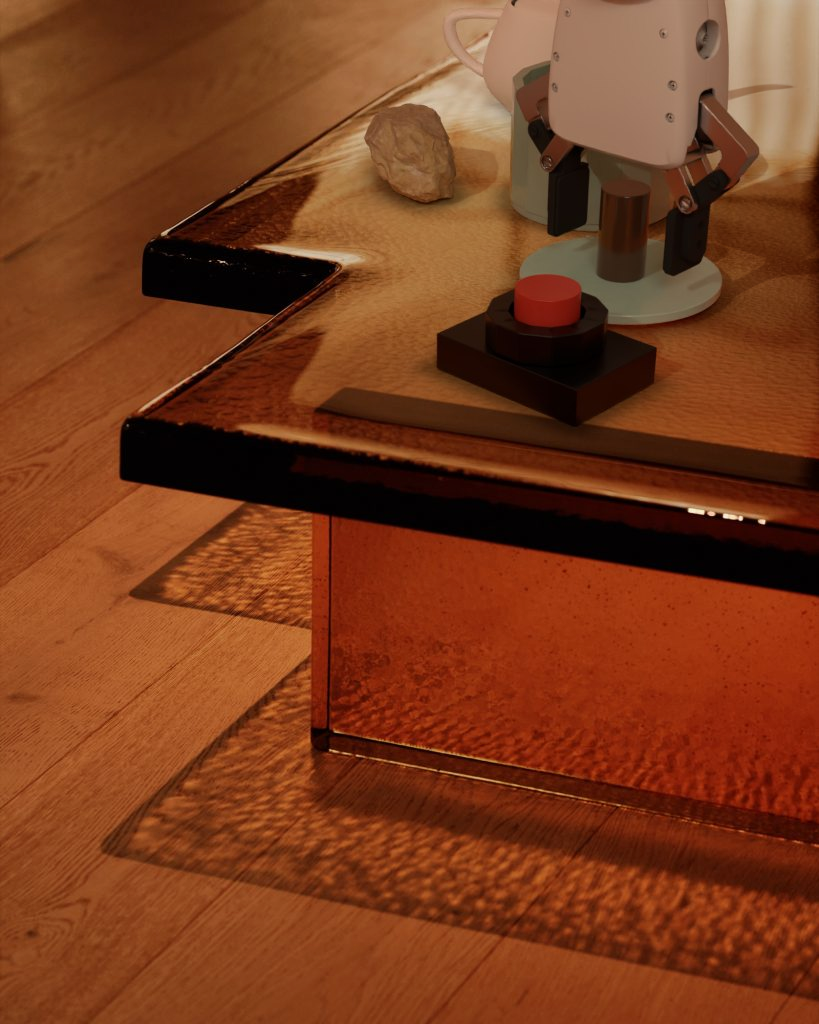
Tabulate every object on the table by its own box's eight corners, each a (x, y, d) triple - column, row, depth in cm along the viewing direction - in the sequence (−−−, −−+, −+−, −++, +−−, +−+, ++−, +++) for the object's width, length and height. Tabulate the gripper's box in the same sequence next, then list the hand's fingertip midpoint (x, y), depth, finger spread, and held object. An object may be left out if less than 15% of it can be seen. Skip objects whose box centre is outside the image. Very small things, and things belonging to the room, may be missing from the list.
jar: (706, 199, 112) (717, 79, 108) (605, 245, 106) (613, 118, 101) (579, 162, 119) (585, 47, 115) (476, 202, 112) (478, 82, 108)
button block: (654, 383, 89) (660, 316, 87) (574, 427, 84) (578, 358, 82) (517, 329, 95) (519, 266, 92) (436, 368, 90) (436, 303, 88)
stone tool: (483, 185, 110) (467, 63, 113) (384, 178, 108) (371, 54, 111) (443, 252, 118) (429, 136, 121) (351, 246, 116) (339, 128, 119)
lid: (760, 289, 99) (772, 186, 96) (638, 354, 92) (647, 243, 88) (602, 237, 107) (608, 139, 103) (477, 293, 99) (479, 189, 96)
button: (593, 316, 88) (595, 286, 87) (551, 336, 85) (552, 306, 84) (542, 297, 90) (543, 268, 89) (500, 317, 88) (501, 287, 87)
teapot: (425, 127, 126) (425, -13, 121) (457, 77, 138) (459, -53, 132) (707, 145, 122) (721, 1, 117) (717, 92, 134) (730, -41, 128)
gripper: (816, -35, 86) (779, 270, 95) (564, -80, 96) (552, 198, 105) (736, -9, 81) (705, 308, 90) (480, -60, 91) (475, 229, 101)
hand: (623, 248), depth 98 cm, fingers open, 8 cm apart
